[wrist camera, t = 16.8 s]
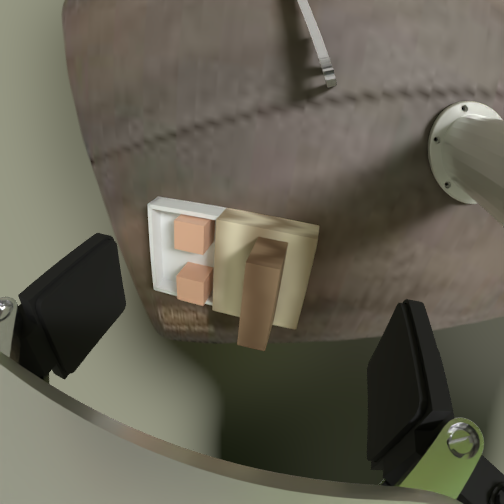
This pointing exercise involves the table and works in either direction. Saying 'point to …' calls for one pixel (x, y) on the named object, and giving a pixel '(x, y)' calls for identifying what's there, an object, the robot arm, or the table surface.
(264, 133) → the table surface
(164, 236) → the tray
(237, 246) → the beige flat block
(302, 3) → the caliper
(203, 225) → the pink cube
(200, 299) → the tan wooden cube
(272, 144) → the table surface
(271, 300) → the brown tapered block
